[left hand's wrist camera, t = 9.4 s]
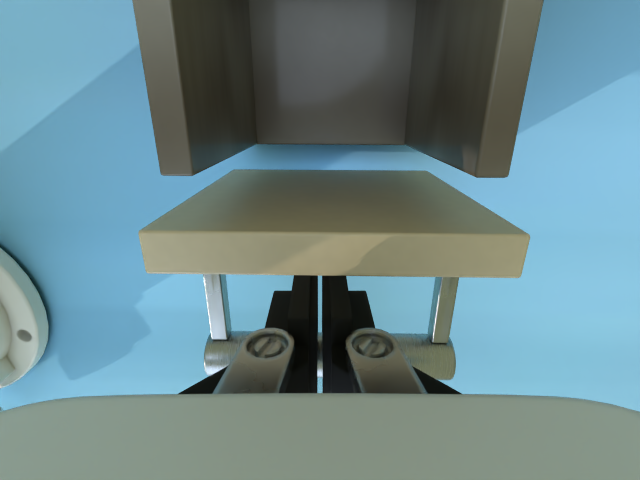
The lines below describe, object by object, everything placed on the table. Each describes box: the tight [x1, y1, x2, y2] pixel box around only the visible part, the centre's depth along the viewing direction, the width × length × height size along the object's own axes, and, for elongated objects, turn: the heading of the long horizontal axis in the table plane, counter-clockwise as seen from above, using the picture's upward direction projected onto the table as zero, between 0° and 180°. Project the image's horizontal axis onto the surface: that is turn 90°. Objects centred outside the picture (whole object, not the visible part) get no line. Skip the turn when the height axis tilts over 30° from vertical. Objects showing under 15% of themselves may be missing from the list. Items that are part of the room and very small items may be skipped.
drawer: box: [132, 0, 544, 380], centre depth 11 cm, size 23×10×9 cm, turn 0°
